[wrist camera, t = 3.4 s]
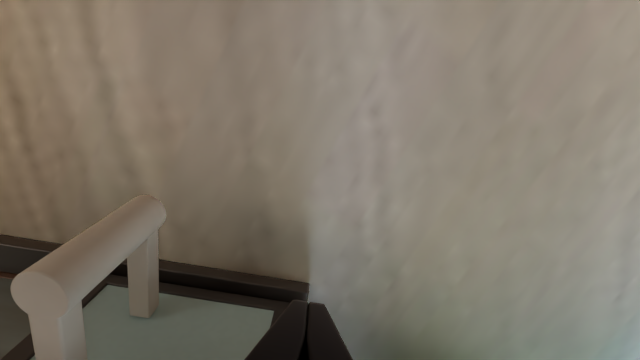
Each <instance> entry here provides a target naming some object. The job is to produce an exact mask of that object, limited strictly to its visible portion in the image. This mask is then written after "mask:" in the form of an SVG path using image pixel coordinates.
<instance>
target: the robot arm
mask: <svg viewBox="0 0 640 360" xmlns="http://www.w3.org/2000/svg"><path fill="white" fill-rule="evenodd" d="M244 360H352V358H351V356H350V354H349V352H348V350H347V348H346V346H345V344H344V342H343V340H342V338H341V336H340V334H339V332H338V330H337V328H336V326H335V324H334V322H333V320H332V318H331V316H330V314H329V312H328V311H327V309H326V307H325V305H324V304H320V303H313V302H310V303H309V304H308V302H306V301H301V300H292V301H291V303H290V304H289V305H288V306H287V308H286V309H285V310H284V311H283V312H282V314H281V315H280V316H279V317H278V319H277V320H276V321H275V322H274V324H273V325H272V326H271V327H270V328H269V330H268V331H267V332H266V333H265V335H264V336H263V337H262V338H261V340H260V341H259V342H258V343H257V344H256V346H255V347H254V348H253V349H252V351H251V352H250V353H249V354H248V356H247V357H246V358H245V359H244Z"/></svg>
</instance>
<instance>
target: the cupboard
mask: <svg viewBox="0 0 640 360" xmlns="http://www.w3.org/2000/svg"><path fill="white" fill-rule="evenodd" d="M60 246H62V245H61V244H55V243H49V242H42V241H36V240H30V239H23V238H17V237H11V236H5V235H0V359H1V358H2V357H3V356H5V355H6V354H7V353H8V352H9V351H10V350H11V349H12V348H14V347H15V346H16V345H17V344H18V343H19V342H20V341H22V340H23V339H24V338H25V337H26V336H27V335H28V334H30V333H31V329H30V323H29V317H28V314H27V313H26V312H24V311H23V310H22V309H21V308H20V307H19V306H18V305H17V304H16V303H15V301H14V299H13V297H12V295H11V283H12V281H13V279H14V278H15V277H16V276H17V275H18V274H19V273H21V272H22V271H24V270H25V269H27V268H28V267H30V266H31V265H33V264H34V263H36V262H38V261H39V260H41V259H42V258H44V257H45V256H47V255H48V254H50V253H51V252H53V251H54V250H56V249H57V248H59V247H60ZM110 275H117V276H123V277H128V266H127V258H126V259H125V260H124V261H123V262H122V263H121V264H119V265H118V266H117V267H116V268H115V269H114V270H113V271H112V272H111V273H110ZM159 282H161V283H168V284H174V285H180V286H187V287H193V288H200V289H206V290H212V291H219V292H225V293H231V294H238V295H244V296H251V297H257V298H263V299H270V300H276V301H283V302H289V303H291V301H292V300H301V301H306V302H307V299H308V293H309V284H308V283H302V282H296V281H289V280H283V279H277V278H270V277H264V276H258V275H251V274H245V273H239V272H232V271H226V270H220V269H213V268H207V267H201V266H194V265H188V264H182V263H175V262H169V261H163V260H159Z"/></svg>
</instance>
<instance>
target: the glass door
mask: <svg viewBox="0 0 640 360" xmlns="http://www.w3.org/2000/svg"><path fill="white" fill-rule="evenodd" d="M165 220H166V210H165V207H164V205H163V204H162V203H161V202H160V201H159V200H158V199H157V198H155V197H153V196H150V195H139V196H136V197H134V198H133V199H131V200H130V201H128V202H127V203H125V204H124V205H122V206H121V207H119V208H118V209H116V210H115V211H113V212H112V213H110V214H109V215H107V216H106V217H104V218H103V219H101V220H100V221H98V222H97V223H95V224H94V225H92V226H91V227H89V228H88V229H86V230H84V231H83V232H81V233H80V234H78V235H77V236H75V237H74V238H72V239H71V240H69V241H68V242H66V243H65V244H63V245H62V246H60V247H59V248H57V249H56V250H54V251H53V252H51V253H50V254H48V255H47V256H45V257H44V258H42V259H41V260H39V261H38V262H36V263H34V264H33V265H31V266H30V267H28V268H27V269H25V270H24V271H22V272H21V273H19V274H18V275H17V276H16V277H15V278H14V279H13V281H12V283H11V295H12V297H13V299H14V301H15V303H16V304H17V305H18V306H19V307H20V308H21V309H22V310H23V311H24V312H26V313H27V314H28V317H29V323H30V329H31V333H30V334H28V335H27V336H26V337H25V338H24V339H23V340H22V341H20V342H19V343H18V344H17V345H16V346H15V347H14V348H12V349H11V350H10V351H9V352H8V353H7V354H6V355H5V356H3V357H2V358H1V359H0V360H244V359H245V358H246V357H247V356H248V354H249V353H250V352H251V351H252V349H253V348H254V347H255V346H256V344H257V343H258V342H259V341H260V340H261V338H262V337H263V336H264V335H265V333H266V332H267V331H268V330H269V328H270V327H271V326H272V325H273V324H274V322H275V321H276V320H277V319H278V317H279V316H280V315H281V314H282V312H283V311H284V310H285V309H286V308H287V306H288V305H289V304H290V303H289V302H283V301H276V300H270V299H263V298H257V297H251V296H244V295H238V294H231V293H225V292H219V291H212V290H206V289H200V288H193V287H187V286H180V285H174V284H168V283H161V282H159V246H158V228H159V227H160V226H162V225H163V223H164V222H165ZM126 258H127V266H128V277H123V276H117V275H110V273H111V272H112V271H113V270H114V269H115V268H116V267H117V266H118V265H119V264H121V263H122V262H123V261H124V260H125V259H126Z"/></svg>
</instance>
